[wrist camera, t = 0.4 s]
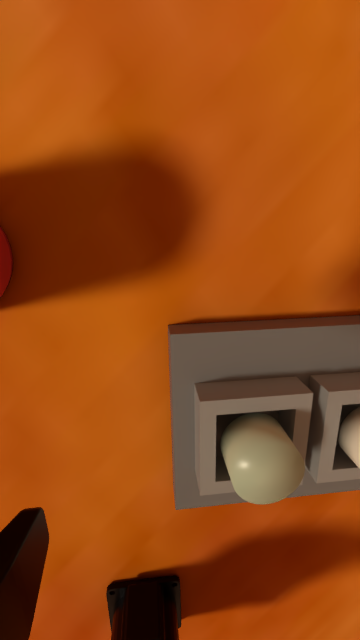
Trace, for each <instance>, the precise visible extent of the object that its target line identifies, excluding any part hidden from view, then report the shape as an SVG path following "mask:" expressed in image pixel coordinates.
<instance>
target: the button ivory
mask: <svg viewBox="0 0 360 640" xmlns="http://www.w3.org/2000/svg"><path fill="white" fill-rule="evenodd" d="M338 442H339V445H340V447H341V448H342V450H343V451H344V452H345V453H346V454H347V455H348V456H349V457H350V459H351V460H352V461H353V462H354V463H355V464H356V465H357V466H358V468H359V469H360V407H358V408H357V409H355V410H353V411H352V412H351V413H350V414H349V415H348V416H347V417H346V418H345V419H344V420H343V422H342V424H341V426H340V428H339V431H338Z"/></svg>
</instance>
